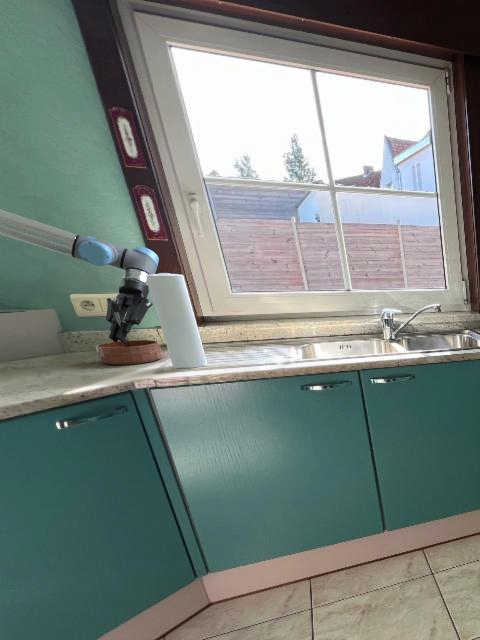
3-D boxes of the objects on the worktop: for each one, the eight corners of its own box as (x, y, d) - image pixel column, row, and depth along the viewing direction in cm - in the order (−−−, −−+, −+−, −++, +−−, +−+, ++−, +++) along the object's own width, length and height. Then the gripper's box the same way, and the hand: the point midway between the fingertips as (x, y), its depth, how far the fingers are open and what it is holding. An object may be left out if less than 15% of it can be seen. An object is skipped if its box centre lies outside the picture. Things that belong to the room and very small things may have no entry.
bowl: (97, 367, 163) (90, 349, 160) (107, 358, 175) (101, 341, 173) (160, 362, 171) (155, 345, 169) (165, 354, 183) (161, 338, 181)
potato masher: (116, 359, 169) (97, 304, 162) (119, 355, 174) (101, 302, 167) (142, 357, 173) (125, 303, 166) (145, 354, 178) (129, 301, 171)
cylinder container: (208, 361, 175) (184, 272, 164) (206, 366, 168) (181, 274, 157) (174, 363, 170) (147, 272, 159) (171, 369, 163) (142, 273, 152)
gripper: (165, 293, 181) (148, 346, 172) (120, 292, 179) (101, 346, 170) (150, 278, 174) (132, 333, 165) (104, 277, 172) (83, 333, 163)
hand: (116, 339), depth 167 cm, fingers closed on potato masher
